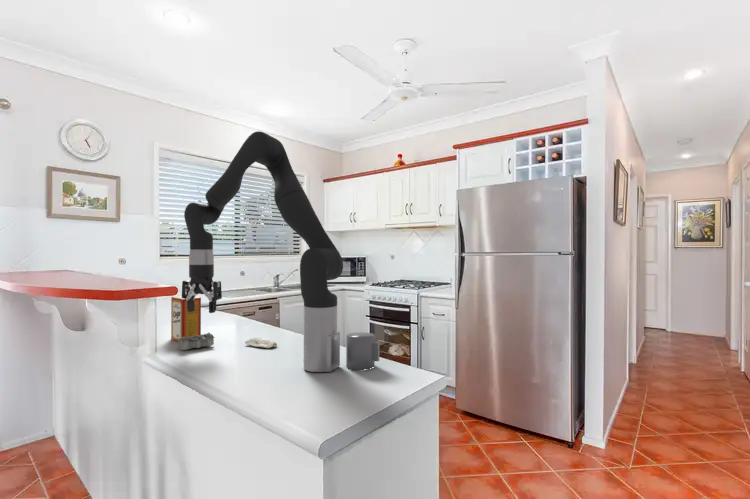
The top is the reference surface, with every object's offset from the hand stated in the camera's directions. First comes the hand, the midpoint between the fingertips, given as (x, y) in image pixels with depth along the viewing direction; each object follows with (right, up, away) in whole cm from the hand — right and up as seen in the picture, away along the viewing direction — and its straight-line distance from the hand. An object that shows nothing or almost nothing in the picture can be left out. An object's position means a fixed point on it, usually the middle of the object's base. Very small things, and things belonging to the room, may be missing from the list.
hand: (201, 312), depth 131 cm
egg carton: (0, -13, 0) cm, 13 cm away
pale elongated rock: (+18, -13, +2) cm, 23 cm away
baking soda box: (-12, -13, +13) cm, 22 cm away
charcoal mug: (+53, -12, -20) cm, 58 cm away
